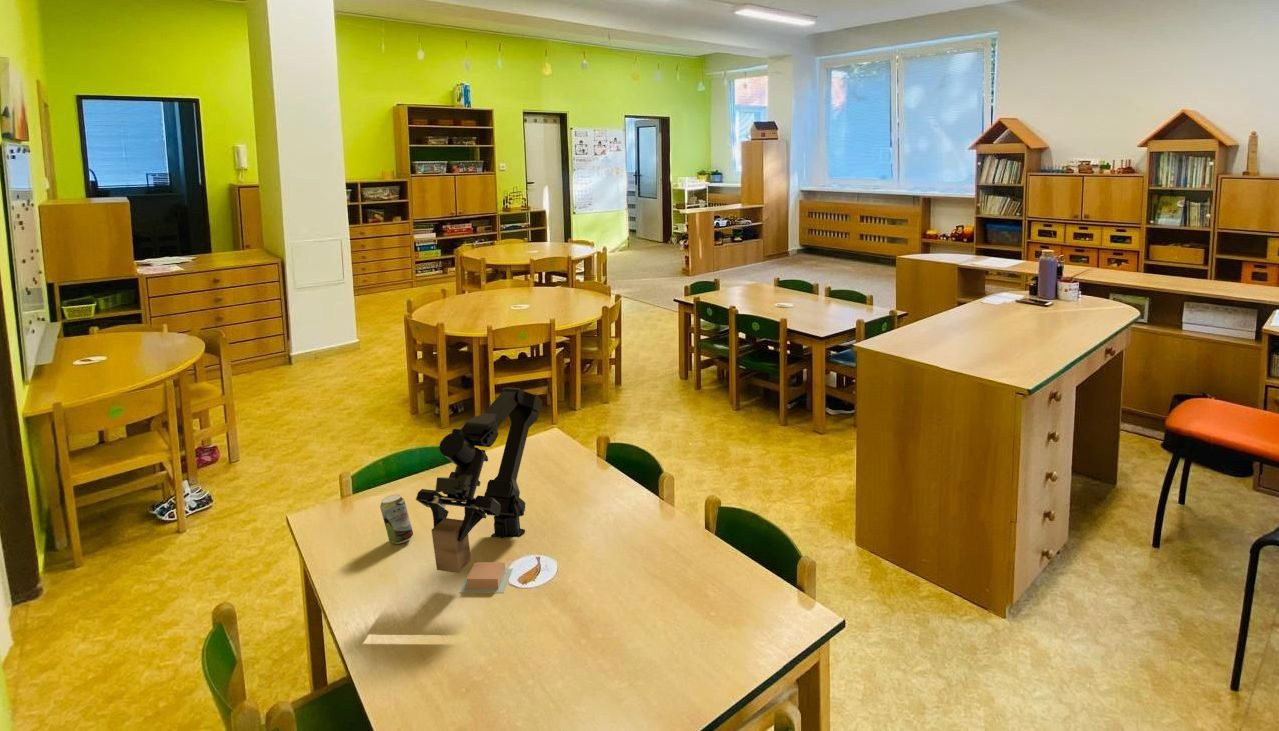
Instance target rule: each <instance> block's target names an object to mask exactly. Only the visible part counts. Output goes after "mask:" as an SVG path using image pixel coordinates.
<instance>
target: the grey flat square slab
mask: <svg viewBox="0 0 1279 731" xmlns="http://www.w3.org/2000/svg"><path fill="white" fill-rule="evenodd" d="M471 569H472V568H470V570H469V572H468V573H467V576H466V578H465V580H464V582H463V583H462V586H461V588H460V590H459V592H458V593H459V594H504V593H505V590H506V588H507V586H508V582H509V580H510V577H511V575H512V572H513V570H514V568H505V571H506V572H505V575H504V577H503V579H502V582H501V584H500V587H499V589H468V587H467V577H468V575H469V573H470V571H471Z"/></svg>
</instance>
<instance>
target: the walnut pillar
mask: <svg viewBox="0 0 1279 731" xmlns="http://www.w3.org/2000/svg"><path fill="white" fill-rule="evenodd" d="M463 520H464V519H457V518H456V519H455V518H449V517H448V518H444V519H443V520H442V521H441V522H440V523H439V524H437V525H436V526H435V527H434V526H433V528H432V529H431V536H432V545H433V551H434V552H433V553H434V559H435V566H436V570H437V571H442V572H448V573H455V574H460V572H462V571H463V569H464V568H465V567H466V566H467V565H468V564H469V563H470V562H471V561H472V557H471V548H470V547H471V546H470V541H469V540H470V539H469V533H468V534H467V535H466V537H465V538H464V539H463V540H462V542H459V541H458V536H459V532H460V529H461V526H462V523H463Z"/></svg>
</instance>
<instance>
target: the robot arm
mask: <svg viewBox="0 0 1279 731" xmlns="http://www.w3.org/2000/svg"><path fill="white" fill-rule="evenodd" d="M542 408H543V400H542V398H541V397H540V396H539V394H537V393H530V392H528V391H525V390H524V389H521V388H520V387H507V386H506V387H503V388H502V389H501V391H500V394H499V395H498V396H497V397H496V398H495V400H493V402H492V403H491V404H490V405H489V406H488V407H487V409H486V410H485V411H483V413H481V414H479V415H477V416H472V417H471V418H470V419H469V420H467V421H466V422H465V423H464V425H463V426H462V427H461V428H453V429H452V431H451V433H449V434H447V435H445V436H444V437H443V438H442V440H441V441H440V443H439V451H440V452H439V453H441V455H443V456H444V457H445V458H447V460H449V462H451V463H453V464H454V465H456V466H455V469H454V471H451V472H450V474H449V475H448V477H443V476H442V477H440V476H439V477H437V478H436V483H435V489H426V488H421V489H420V490H419V491H418V492H417V494H416V496H415V501H417V502H418V503H420V504H421V505H423V506H425V507H427V508H430V510H431V512H432V518H433V528H434V527H435V526H436V525H437V524H439V523H440V522H441V521H442V520H443V519H444V518H447V517H448V516H449V512H450V511H449V510H447V509H446V506H451V507H460V508H462V507H463V508H464V517H463V519H462V520H463V523H462V526H461V529H460V532H459V536H458V541H459V542H462V540H463V539H464V538H465V537H466V535H467V534H468V535H469V533H470V532H471V531H472V529H473V528H474V527H475V526H476V525H478V523H480V521H481V520H482V519H486V518H487V516H493V528H494V532H493V533H492V534H491V535H490V537H491V538H500V539H505V538H519V537H521V536H522V535H523V534H524V533H525V532H526V530H525V529H524V528H521V523H520V517H523V516H524V515H525V512H526V502H525V501H524V500H523V499H522V498H521V497H520V494H521V491H520V489H519V488H520V487H519V485H518V481H517V479H518V475H519V470H520V467H521V463H522V458H523V455H524V450H525V446H526V442H527V438H528V434H529V430H530V429H531V427H532V426H533V425H534V424H535V423H536V422H537V420H538V419H539V416H540V413H541V412H542ZM507 417H509V420H510V426H509V430H508V433H507V438H506V442H505V446H504V449H503V452H502V457H501V461H500V465H499V469H498V473H497V476H495V478H494V479H489V480H488V481H487V486H486V489H485V492H484V495H478V494H477V496H476V497H475V494H476V490H477V487H480V486H481V481H480V476H481V473H482V469H483V466H484V462H488V461H489V457H488V455H487V454H486V450H484V449H480V448H478V447H481V448H482V447H483V448H490V447H492V446H493V445H494V443H495V442H496V440H497V438H498V437H499V430H498V429H499V427H500V426H501V425H502V424H503V422H504V421H505V420H506V418H507ZM441 493H442V494H441ZM443 494H444V495H443Z"/></svg>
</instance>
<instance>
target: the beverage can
mask: <svg viewBox="0 0 1279 731" xmlns="http://www.w3.org/2000/svg"><path fill="white" fill-rule="evenodd" d="M380 502H381V503H380V506H379V508H380V511H381V515H382V518H383V519H382V520H383V523H384V527H385V530H386V533H387V537H388V541H389V542H390V543H392V544H394V545H395V544H396V545H398V544H402V543H405V542H408V541H409V540H410V539H411V538H412V536H413V535H414V530H413V528H412V523H411V520H410V516H409V512H408V509H407V504H406V501H405V499H404V498H403V497H402V495H401V494H391V495H389V496H388V495H387V496H386V497H383V498H382V499H381V500H380Z"/></svg>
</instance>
